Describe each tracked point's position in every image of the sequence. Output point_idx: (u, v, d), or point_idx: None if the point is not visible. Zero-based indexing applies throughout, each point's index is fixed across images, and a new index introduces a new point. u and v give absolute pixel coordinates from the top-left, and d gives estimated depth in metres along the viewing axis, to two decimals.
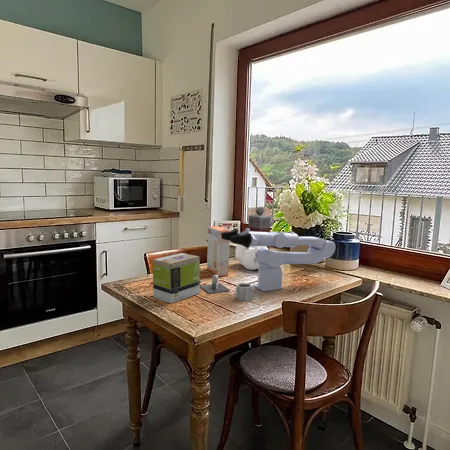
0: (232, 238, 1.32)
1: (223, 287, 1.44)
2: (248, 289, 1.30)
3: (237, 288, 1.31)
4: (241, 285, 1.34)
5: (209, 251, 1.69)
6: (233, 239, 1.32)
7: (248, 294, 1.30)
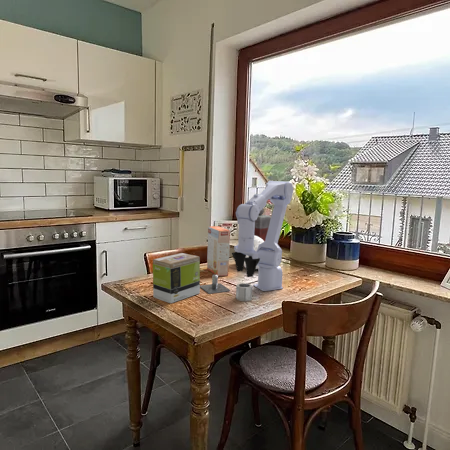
0: (249, 275, 1.28)
1: (223, 287, 1.44)
2: (248, 289, 1.30)
3: (237, 288, 1.31)
4: (241, 285, 1.34)
5: (209, 251, 1.69)
6: (250, 274, 1.28)
7: (248, 294, 1.30)
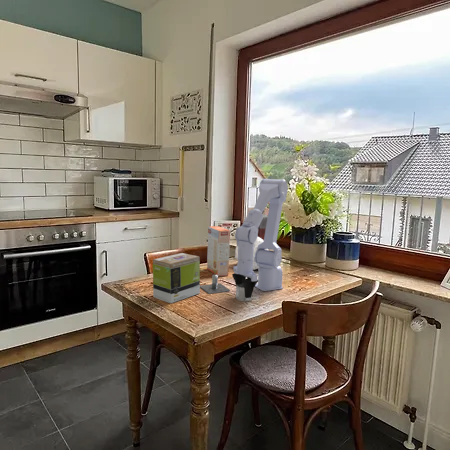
0: (247, 296, 1.29)
1: (223, 287, 1.44)
2: None
3: (237, 288, 1.31)
4: (241, 285, 1.34)
5: (209, 251, 1.69)
6: (248, 295, 1.30)
7: None
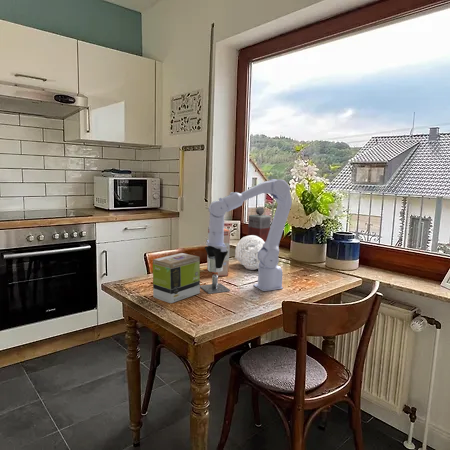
0: (217, 267, 1.38)
1: (223, 287, 1.44)
2: None
3: (208, 260, 1.40)
4: (213, 258, 1.43)
5: None
6: (219, 266, 1.38)
7: None
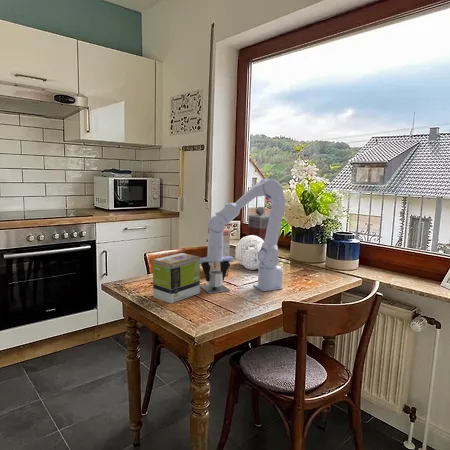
0: None
1: (223, 287, 1.44)
2: None
3: (217, 276, 1.40)
4: None
5: None
6: None
7: None
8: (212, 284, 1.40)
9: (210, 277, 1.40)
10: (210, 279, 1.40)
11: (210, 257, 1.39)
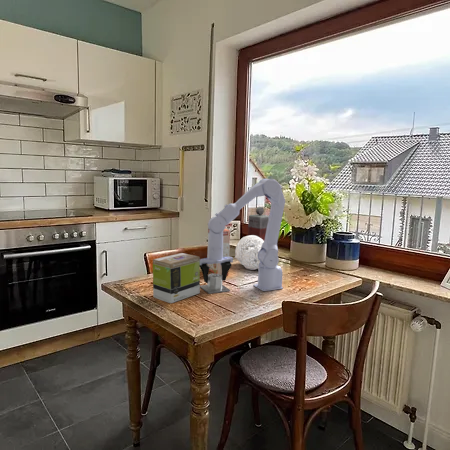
0: None
1: (223, 287, 1.44)
2: None
3: (217, 279, 1.40)
4: None
5: None
6: None
7: None
8: (212, 287, 1.40)
9: (210, 280, 1.40)
10: (210, 282, 1.40)
11: (210, 258, 1.39)
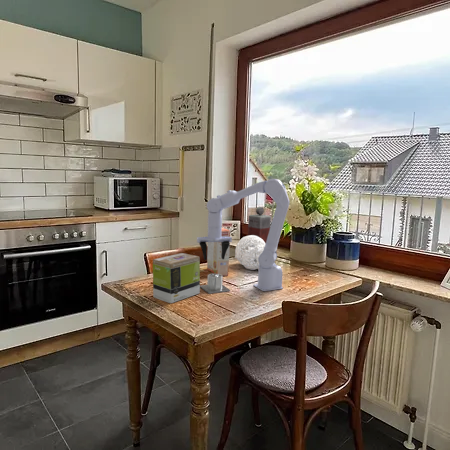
0: None
1: (223, 287, 1.44)
2: None
3: (217, 279, 1.40)
4: None
5: (209, 251, 1.69)
6: None
7: None
8: (212, 287, 1.40)
9: (210, 280, 1.40)
10: (210, 282, 1.40)
11: (209, 236, 1.48)
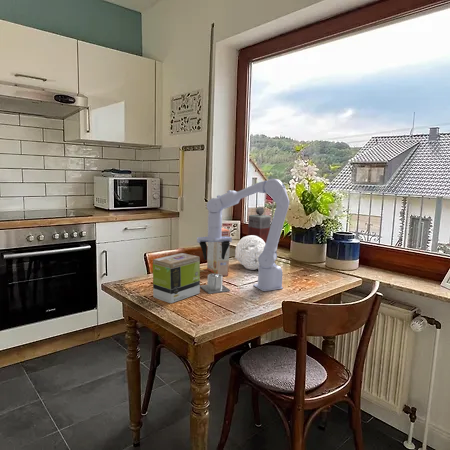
0: None
1: (223, 287, 1.44)
2: None
3: (217, 279, 1.40)
4: None
5: (209, 251, 1.69)
6: None
7: None
8: (212, 287, 1.40)
9: (210, 280, 1.40)
10: (210, 282, 1.40)
11: (209, 236, 1.48)
